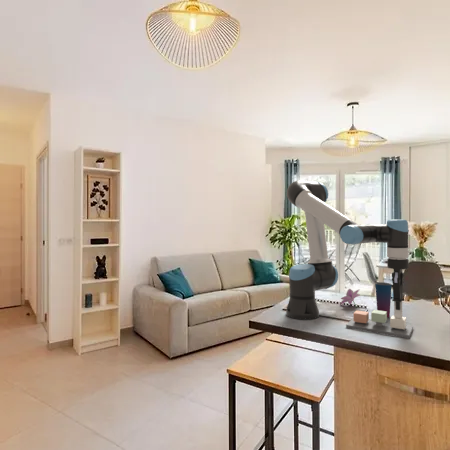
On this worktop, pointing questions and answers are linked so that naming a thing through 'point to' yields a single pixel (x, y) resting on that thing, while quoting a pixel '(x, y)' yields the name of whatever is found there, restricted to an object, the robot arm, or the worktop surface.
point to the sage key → (379, 316)
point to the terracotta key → (361, 316)
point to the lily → (350, 296)
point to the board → (380, 328)
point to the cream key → (398, 322)
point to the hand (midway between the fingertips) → (398, 317)
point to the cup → (383, 296)
